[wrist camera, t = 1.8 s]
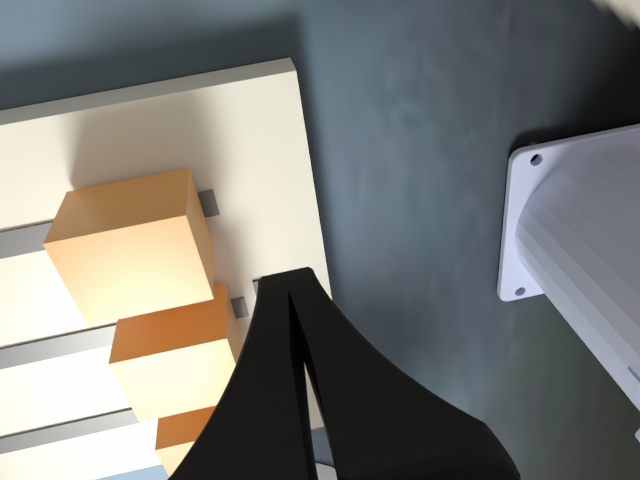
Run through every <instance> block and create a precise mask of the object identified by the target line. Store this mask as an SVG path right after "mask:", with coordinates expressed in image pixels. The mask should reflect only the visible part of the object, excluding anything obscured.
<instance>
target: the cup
mask: <svg viewBox="0 0 640 480" xmlns="http://www.w3.org/2000/svg"><path fill="white" fill-rule="evenodd" d="M315 464H316V469H317V474H318V479H319V480H337V476H336V471H335V469H334V468H332V467H330V466H326V465H322V464H318V463H315Z"/></svg>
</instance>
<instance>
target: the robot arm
mask: <svg viewBox="0 0 640 480" xmlns="http://www.w3.org/2000/svg"><path fill="white" fill-rule="evenodd" d="M536 154H538V156H537V158H536V159H535V160H534V161H531V158H532V157H533V156H534V155H536ZM530 161H531V162H530ZM518 288H520V289H519V290H517V289H518ZM543 293H545V294H546V296H547V297H548V298H549V299H550V301H551V302H552V303H553V304H554V306H555V307H556V308H557V309H558V311H559V312H560V313H561V314H562V315H563V317H564V318H565V319H566V320H567V322H568V323H569V324H570V325H571V327H572V328H573V329H574V330H575V332H576V333H577V334H578V335H579V337H580V338H581V339H582V340H583V342H584V343H585V344H586V345H587V346H588V348H589V349H590V350H591V351H592V353H593V354H594V355H595V356H596V358H597V359H598V360H599V361H600V363H601V364H602V365H603V366H604V368H605V369H606V370H607V371H608V373H609V374H610V375H611V376H612V377H613V379H614V380H615V381H616V382H617V384H618V385H619V386H620V387H621V389H622V390H623V391H624V392H625V394H626V395H627V396H628V397H629V399H630V400H631V401H632V402H633V404H634V405H635V406H636V407H637V408H638V410H639V411H640V124H636V125H631V126H626V127H621V128H616V129H611V130H606V131H601V132H596V133H591V134H586V135H581V136H576V137H571V138H566V139H561V140H556V141H551V142H546V143H541V144H536V145H531V146H526V147H521V148H519V149H517V150H515V151H514V152H513V153H512V154H511V156H510V158H509V163H508V174H507V185H506V196H505V208H504V219H503V230H502V241H501V252H500V264H499V275H498V286H497V294H498V296H499V297H500V298H501V300H503V301H512V300H516V299H521V298H525V297H530V296H534V295H539V294H543ZM304 363H305V365H304ZM305 366H306V370H307V373H308V376H309V379H310V383H311V386H312V389H313V392H314V395H315V399H316V402H317V405H318V408H319V411H320V415H321V418H322V421H323V424H324V427H325V431H326V434H327V437H328V441H329V445H330V449H331V453H332V457H333V462H334V467H335V471H336V476H337V480H521V479H520V474H519V472H518V470H517V468H516V465H515V464H514V462H513V460H512V459H511V457H510V456H509V454H508V453H507V451H506V450H505V448H504V447H503V445H502V444H501V443H500V441H499V440H498V438H497V437H496V436H495V435H494V433H493V432H492V431H491V430H490V428H489V427H488V426H487V425H486V424H485V423H484V422H482V421H480V420H478V419H476V418H474V417H472V416H471V415H469V414H467V413H465V412H463V411H462V410H460V409H458V408H456V407H455V406H453V405H451V404H449V403H448V402H446V401H445V400H443V399H441V398H440V397H438V396H437V395H435V394H433V393H432V392H430V391H429V390H428V389H426V388H425V387H423V386H422V385H421V384H419V383H418V382H416V381H415V380H414V379H412V378H411V377H409V376H408V375H407V374H405V373H404V372H403V371H401V370H400V369H399V368H398V367H396V366H395V365H394V364H393V363H391V362H390V361H389V360H388V359H387V358H386V357H384V356H383V355H382V354H381V353H380V352H379V351H378V350H377V349H375V348H374V347H373V346H372V345H371V344H370V343H369V342H368V341H367V340H366V339H365V338H364V337H363V336H362V335H361V334H360V333H359V332H358V331H357V329H356V328H355V327H354V326H353V325H352V324H351V323H350V322H349V321H348V320H347V318H346V317H345V316H344V315H343V314H342V312H341V311H340V310H339V309H338V307H337V306H336V305H335V304H334V302H333V301H332V300H331V298H330V297H329V296H328V294H327V293H326V291H325V290H324V288H323V287H322V285H321V284H320V282H319V280H318V279H317V277H316V275H315V273H314V270H313V269H312V268H310V267H304V268H299V269H294V270H290V271H285V272H280V273H276V274H271V275H266V276H262V277H261V278H260V279H259V281H258V291H257V297H256V302H255V307H254V311H253V315H252V319H251V322H250V326H249V329H248V333H247V336H246V339H245V342H244V345H243V347H242V350H241V353H240V355H239V358H238V361H237V363H236V366H235V368H234V371H233V373H232V375H231V377H230V380H229V382H228V384H227V386H226V388H225V390H224V392H223V394H222V396H221V398H220V400H219V402H218V404H217V405H216V407H215V409H214V411H213V413H212V415H211V417H210V418H209V420H208V422H207V423H206V425H205V427H204V428H203V430H202V432H201V433H200V435H199V436H198V438H197V439H196V441H195V442H194V444H193V445H192V447H191V448H190V450H189V451H188V453H187V454H186V456H185V457H184V459H183V460H182V461H181V463H180V464H179V466H178V467H177V468H176V470H175V471H174V472H173V473H172V475H171V476H170V477H169V479H168V480H319V479H318V474H317V469H316V464H315V458H314V452H313V445H312V437H311V427H310V416H309V406H308V395H307V385H306V375H305ZM635 436H636V438H637V439H638V440H639V442H640V428H639V429H638V431H637V432H636V434H635Z"/></svg>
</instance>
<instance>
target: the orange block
mask: <svg viewBox="0 0 640 480" xmlns="http://www.w3.org/2000/svg"><path fill="white" fill-rule="evenodd" d="M43 246H44V247H45V249H46V251H47V253H48V255H49V257H50V259H51V260H52V262H53V264H54V266H55V268H56V270H57V271H58V273H59V275H60V277H61V279H62V281H63V282H64V284H65V286H66V288H67V290H68V292H69V293H70V295H71V297H72V299H73V301H74V303H75V304H76V306H77V308H78V310H79V312H80V314H81V316H82V317H83V319H84V321H85V323H86V325H87V326H89V325H94V324H99V323H103V322H108V321H113V320H117V319H122V318H127V317H132V316H136V315H141V314H146V313H151V312H155V311H160V310H165V309H169V308H174V307H179V306H184V305H188V304H193V303H198V302H202V301H207V300H212V299H214V249H213V242H212V239H211V236H210V233H209V229H208V226H207V223H206V220H205V216H204V213H203V210H202V207H201V204H200V200H199V197H198V194H197V191H196V187H195V184H194V181H193V178H192V174H191V171H190V168H186V169H181V170H176V171H171V172H165V173H160V174H155V175H150V176H145V177H140V178H135V179H129V180H124V181H119V182H114V183H109V184H104V185H99V186H94V187H88V188H83V189H78V190H73V191H68V192H66V195H65V197H64V199H63V201H62V203H61V205H60V207H59V210H58V212H57V214H56V216H55V218H54V220H53V223H52V225H51V227H50V229H49V231H48V233H47V236H46V238H45V240H44V242H43Z"/></svg>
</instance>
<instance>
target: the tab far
mask: <svg viewBox="0 0 640 480" xmlns="http://www.w3.org/2000/svg"><path fill="white" fill-rule="evenodd" d="M215 407H216V405H215V406H210V407H206V408H201V409H197V410H193V411H188V412H184V413H179V414H175V415H170V416H166V417H161V418H158V423H157V433H156V444H155V452H156V453H157V455H158V457H159V459H160V461H161V463H162V465H163V466H164V468H165V470H166V472H167V474H168V476H169V477H170V476H171V475H172V473H173V472H174V471H175V470H176V468H177V467H178V466H179V464H180V463H181V461H182V460H183V459H184V457H185V456H186V454H187V453H188V451H189V450H190V448H191V447H192V445H193V444H194V442H195V441H196V439H197V438H198V436H199V435H200V433H201V432H202V430H203V428H204V427H205V425H206V423H207V422H208V420H209V418H210V417H211V415H212V413H213V411H214V409H215Z"/></svg>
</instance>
